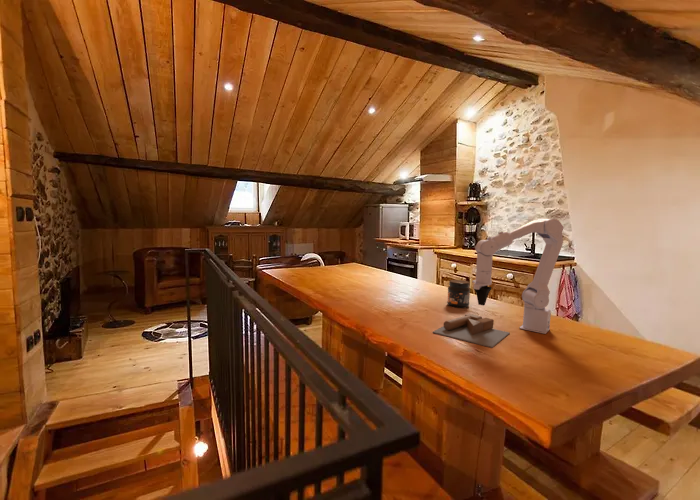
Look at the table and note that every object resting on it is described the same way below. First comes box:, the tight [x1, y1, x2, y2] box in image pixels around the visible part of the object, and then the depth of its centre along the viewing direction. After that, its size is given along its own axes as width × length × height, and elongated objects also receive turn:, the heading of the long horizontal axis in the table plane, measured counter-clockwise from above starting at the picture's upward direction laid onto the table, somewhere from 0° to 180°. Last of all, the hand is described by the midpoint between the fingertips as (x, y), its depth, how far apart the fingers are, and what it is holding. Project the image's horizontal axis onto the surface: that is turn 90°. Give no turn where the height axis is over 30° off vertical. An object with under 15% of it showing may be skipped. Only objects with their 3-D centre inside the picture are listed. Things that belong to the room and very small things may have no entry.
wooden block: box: [443, 313, 494, 335], centre depth 143 cm, size 4×11×18 cm
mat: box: [432, 325, 511, 349], centre depth 139 cm, size 22×20×1 cm
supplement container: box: [446, 279, 471, 309], centre depth 181 cm, size 10×10×12 cm
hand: (481, 304), depth 145 cm, fingers closed
